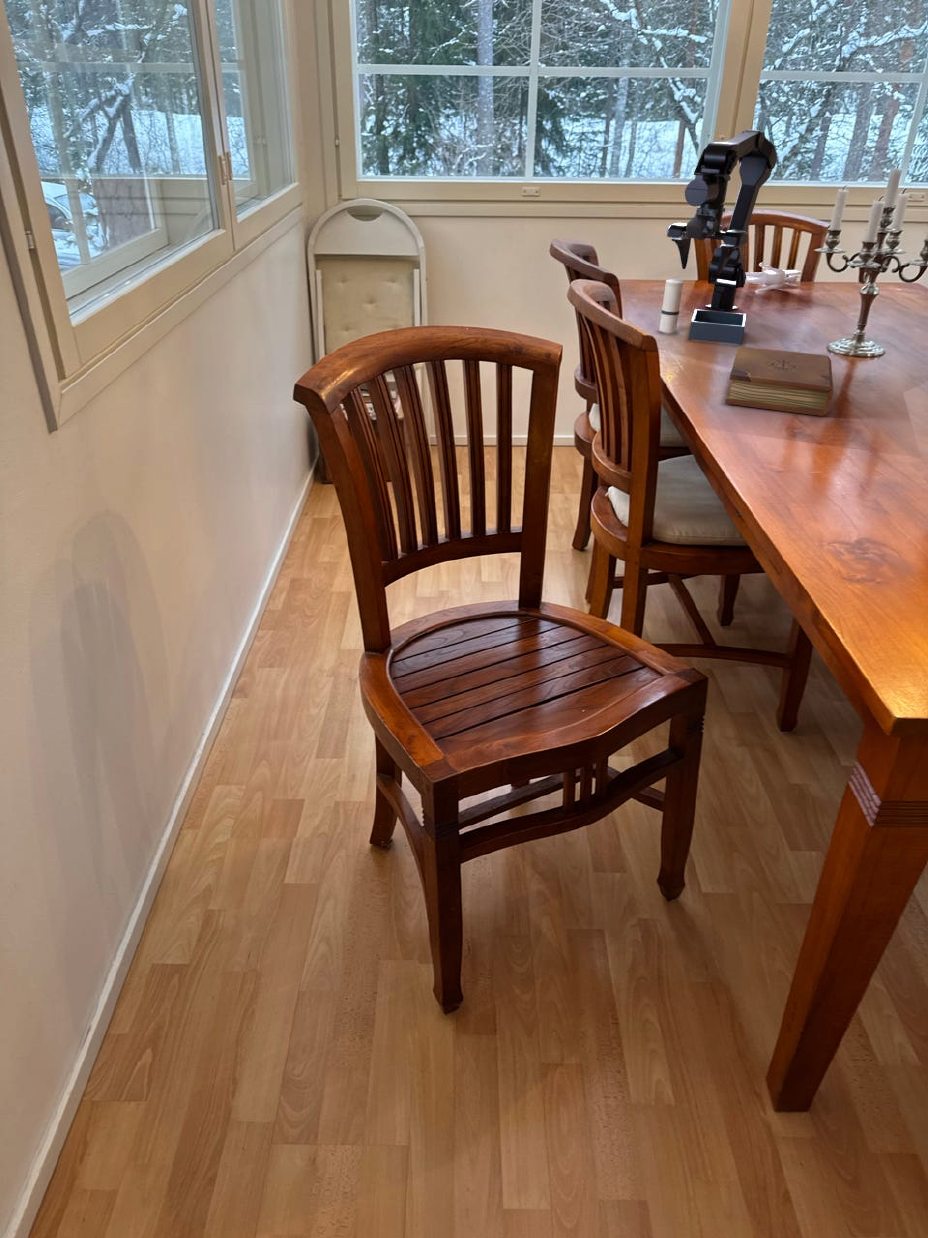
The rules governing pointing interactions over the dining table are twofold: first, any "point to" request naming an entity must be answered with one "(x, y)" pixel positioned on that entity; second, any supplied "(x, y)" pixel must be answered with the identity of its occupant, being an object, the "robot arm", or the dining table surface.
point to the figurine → (773, 278)
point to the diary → (781, 381)
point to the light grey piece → (671, 305)
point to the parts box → (717, 326)
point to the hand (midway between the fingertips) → (701, 271)
